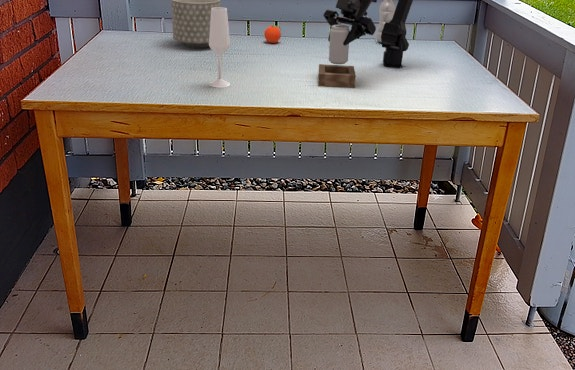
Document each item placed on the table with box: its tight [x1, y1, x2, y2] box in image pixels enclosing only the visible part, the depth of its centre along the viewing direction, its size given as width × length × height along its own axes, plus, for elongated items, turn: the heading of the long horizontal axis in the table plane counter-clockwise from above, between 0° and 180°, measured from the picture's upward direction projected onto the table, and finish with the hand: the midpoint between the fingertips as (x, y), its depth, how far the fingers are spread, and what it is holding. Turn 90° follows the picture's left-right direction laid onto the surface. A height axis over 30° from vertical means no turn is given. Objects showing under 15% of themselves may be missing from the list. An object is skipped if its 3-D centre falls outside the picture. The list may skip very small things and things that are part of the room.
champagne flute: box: [208, 6, 231, 88], centre depth 181 cm, size 7×7×24 cm
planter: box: [170, 0, 222, 49], centre depth 227 cm, size 19×19×18 cm
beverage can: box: [328, 24, 351, 65], centre depth 189 cm, size 6×6×12 cm
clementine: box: [264, 25, 282, 44], centre depth 239 cm, size 8×7×7 cm
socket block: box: [317, 63, 357, 89], centre depth 193 cm, size 12×12×4 cm
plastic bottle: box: [375, 0, 396, 43], centre depth 243 cm, size 6×7×20 cm
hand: (336, 42), depth 188 cm, fingers closed on beverage can, 6 cm apart
